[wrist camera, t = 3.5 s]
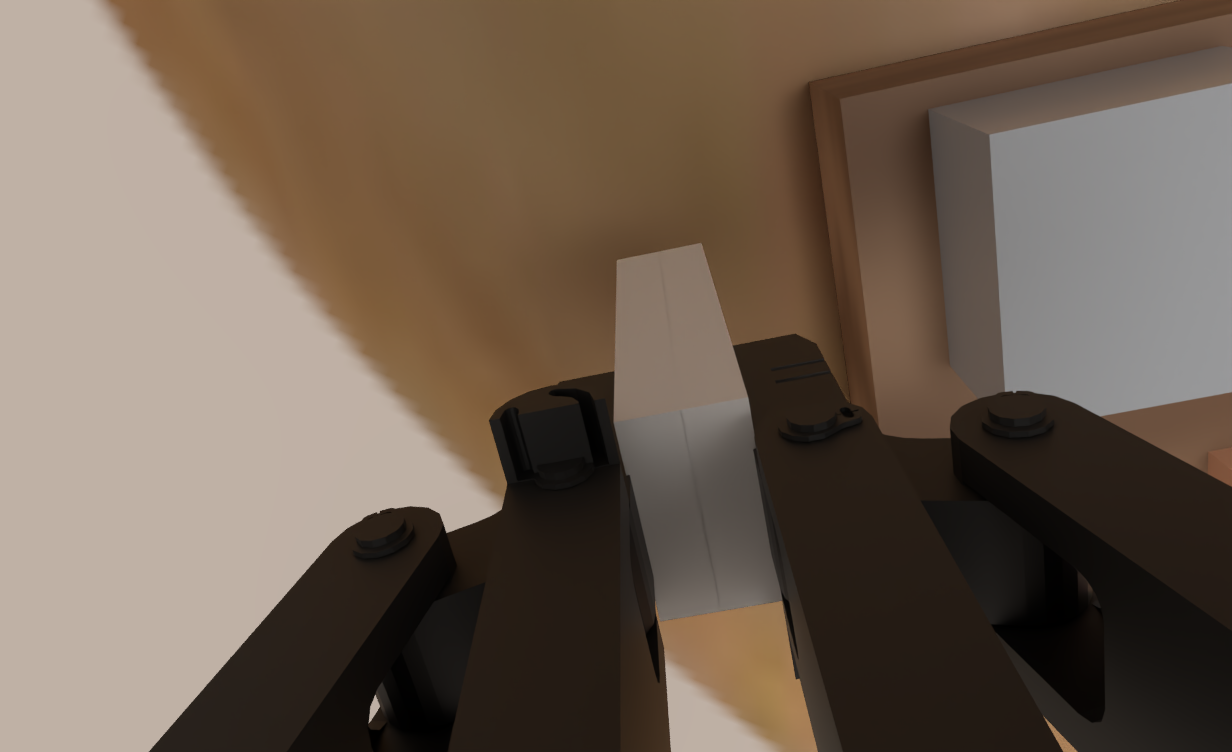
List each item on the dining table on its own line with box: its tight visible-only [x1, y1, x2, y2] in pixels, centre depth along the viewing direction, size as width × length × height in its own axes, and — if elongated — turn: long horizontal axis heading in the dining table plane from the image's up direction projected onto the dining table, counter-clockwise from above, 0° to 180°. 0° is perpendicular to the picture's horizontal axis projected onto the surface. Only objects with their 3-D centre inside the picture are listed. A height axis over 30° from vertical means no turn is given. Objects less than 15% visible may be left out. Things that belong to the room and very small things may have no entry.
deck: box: [809, 0, 1232, 474], centre depth 20 cm, size 14×15×3 cm
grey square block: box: [928, 46, 1232, 416], centre depth 16 cm, size 5×5×3 cm
